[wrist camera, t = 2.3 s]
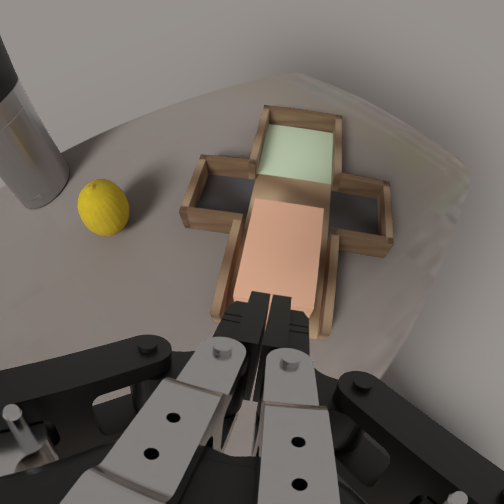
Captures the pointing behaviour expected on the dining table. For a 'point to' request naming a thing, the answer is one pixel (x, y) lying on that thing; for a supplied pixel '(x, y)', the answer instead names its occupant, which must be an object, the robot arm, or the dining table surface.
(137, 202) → the dining table surface
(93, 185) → the lemon
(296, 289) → the block
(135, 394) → the robot arm
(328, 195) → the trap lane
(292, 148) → the pad
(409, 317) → the dining table surface
